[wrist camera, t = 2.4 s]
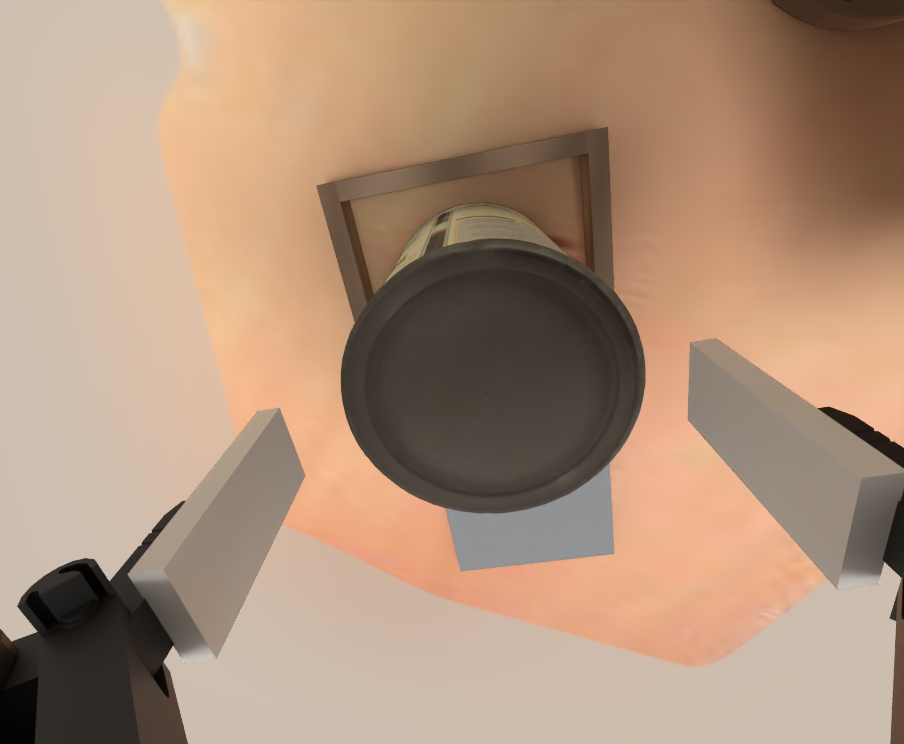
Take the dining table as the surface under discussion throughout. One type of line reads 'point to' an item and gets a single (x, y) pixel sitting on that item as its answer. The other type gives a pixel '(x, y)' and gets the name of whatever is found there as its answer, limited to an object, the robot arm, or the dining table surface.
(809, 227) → the dining table surface
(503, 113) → the dining table surface
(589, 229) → the square picture frame
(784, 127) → the dining table surface
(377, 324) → the coffee can
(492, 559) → the mat
